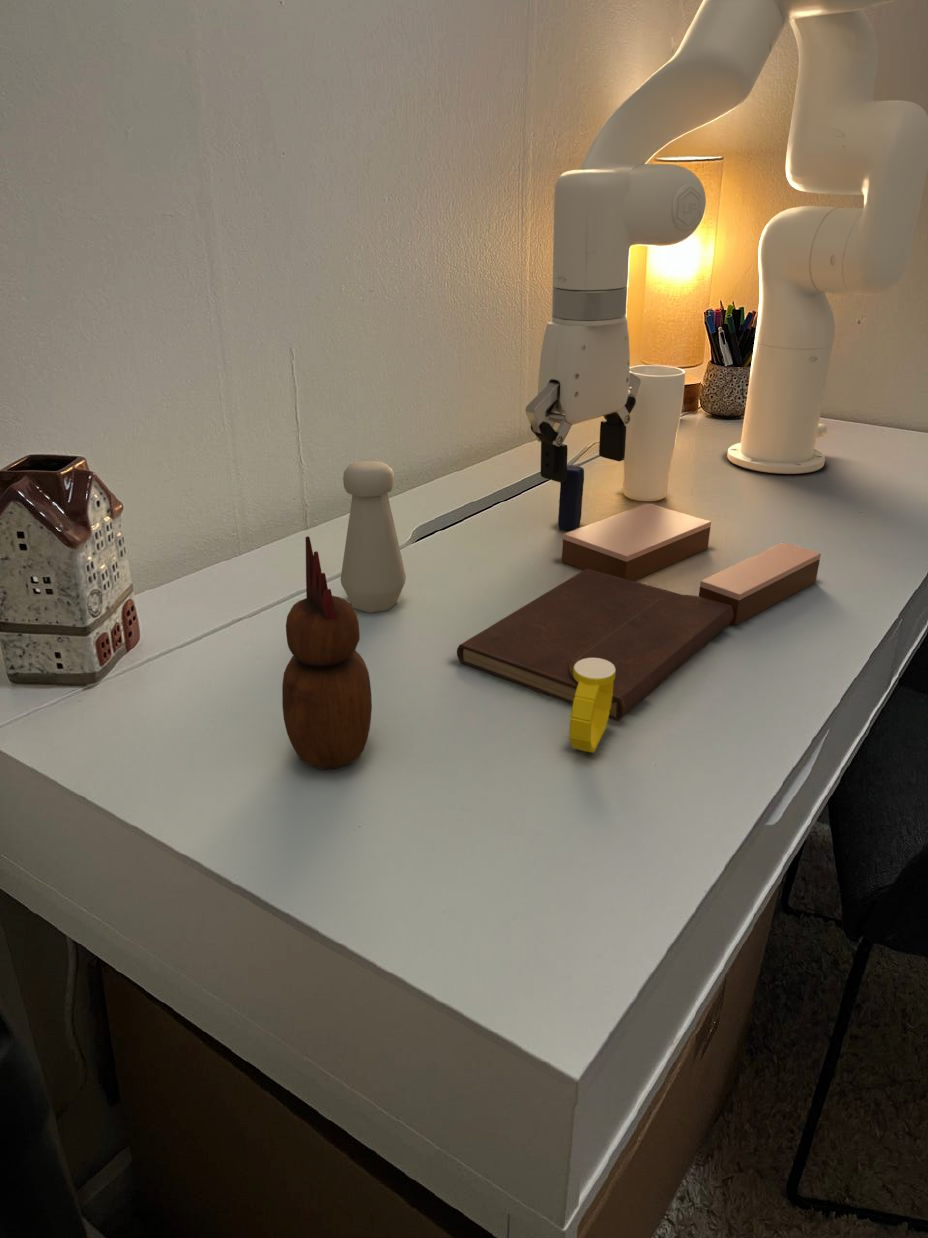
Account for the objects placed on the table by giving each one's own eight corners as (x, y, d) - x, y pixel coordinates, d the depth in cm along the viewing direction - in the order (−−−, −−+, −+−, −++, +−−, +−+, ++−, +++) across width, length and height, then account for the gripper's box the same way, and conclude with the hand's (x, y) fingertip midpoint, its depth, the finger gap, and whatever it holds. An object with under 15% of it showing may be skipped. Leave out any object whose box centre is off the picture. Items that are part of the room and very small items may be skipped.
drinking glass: (669, 488, 115) (682, 365, 108) (675, 506, 109) (689, 376, 102) (614, 486, 115) (624, 363, 109) (617, 504, 109) (627, 375, 103)
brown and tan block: (645, 528, 102) (648, 502, 101) (707, 548, 97) (711, 521, 95) (561, 561, 93) (562, 533, 92) (624, 585, 88) (627, 556, 87)
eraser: (564, 522, 104) (567, 463, 100) (582, 526, 102) (586, 466, 99) (555, 528, 102) (558, 468, 99) (574, 532, 101) (577, 471, 98)
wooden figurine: (292, 727, 65) (274, 528, 59) (374, 724, 66) (365, 526, 59) (283, 784, 59) (262, 569, 53) (373, 780, 60) (363, 566, 53)
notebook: (456, 661, 74) (456, 638, 74) (582, 582, 88) (584, 563, 88) (621, 722, 66) (624, 699, 65) (732, 625, 80) (735, 605, 79)
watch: (582, 716, 67) (587, 643, 64) (620, 724, 66) (626, 650, 63) (557, 759, 62) (561, 682, 59) (597, 769, 61) (603, 691, 58)
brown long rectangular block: (778, 570, 92) (783, 541, 90) (815, 582, 89) (821, 553, 88) (696, 611, 83) (700, 580, 82) (735, 625, 80) (740, 594, 79)
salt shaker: (415, 595, 86) (413, 458, 80) (391, 620, 81) (386, 477, 75) (358, 586, 88) (351, 452, 82) (331, 611, 83) (322, 470, 77)
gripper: (614, 291, 101) (606, 444, 109) (502, 312, 90) (503, 480, 98) (671, 298, 96) (659, 458, 104) (560, 320, 85) (556, 496, 93)
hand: (583, 468), depth 101 cm, fingers open, 9 cm apart
